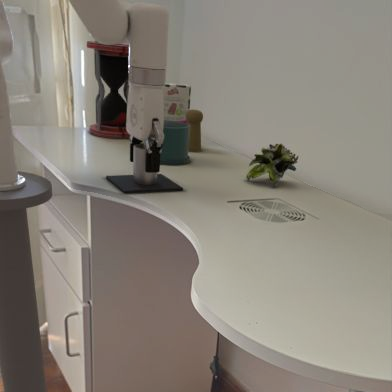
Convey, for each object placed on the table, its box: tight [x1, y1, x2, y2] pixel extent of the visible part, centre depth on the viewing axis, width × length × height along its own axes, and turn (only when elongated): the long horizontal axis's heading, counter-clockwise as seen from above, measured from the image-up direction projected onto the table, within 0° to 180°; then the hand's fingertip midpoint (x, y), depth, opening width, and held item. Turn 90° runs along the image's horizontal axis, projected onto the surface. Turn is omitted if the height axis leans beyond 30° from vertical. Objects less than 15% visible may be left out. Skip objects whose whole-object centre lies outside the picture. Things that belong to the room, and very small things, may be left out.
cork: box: [186, 109, 204, 153], centre depth 141 cm, size 6×6×11 cm
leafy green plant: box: [245, 143, 299, 188], centre depth 116 cm, size 11×11×12 cm
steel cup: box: [132, 144, 158, 185], centre depth 105 cm, size 5×5×8 cm
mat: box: [105, 173, 184, 194], centre depth 107 cm, size 14×12×1 cm
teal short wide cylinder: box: [142, 120, 191, 166], centre depth 128 cm, size 14×14×9 cm
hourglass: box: [86, 40, 130, 139], centre depth 147 cm, size 16×16×25 cm
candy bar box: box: [163, 82, 192, 124], centre depth 147 cm, size 11×5×16 cm, turn 104°
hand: (144, 166), depth 105 cm, fingers open, 8 cm apart
